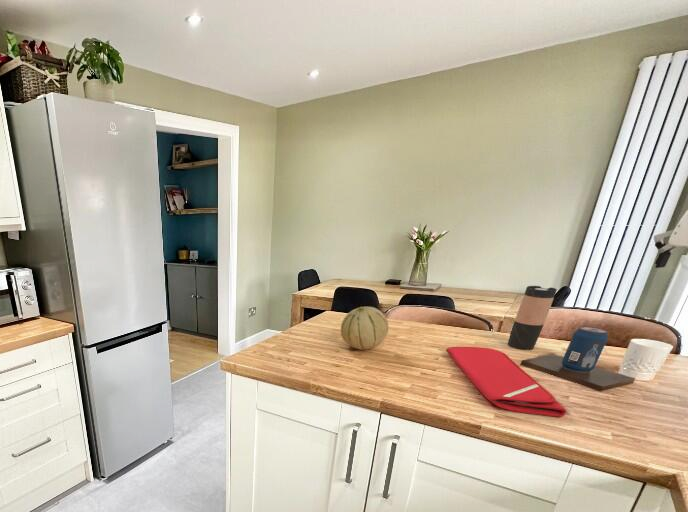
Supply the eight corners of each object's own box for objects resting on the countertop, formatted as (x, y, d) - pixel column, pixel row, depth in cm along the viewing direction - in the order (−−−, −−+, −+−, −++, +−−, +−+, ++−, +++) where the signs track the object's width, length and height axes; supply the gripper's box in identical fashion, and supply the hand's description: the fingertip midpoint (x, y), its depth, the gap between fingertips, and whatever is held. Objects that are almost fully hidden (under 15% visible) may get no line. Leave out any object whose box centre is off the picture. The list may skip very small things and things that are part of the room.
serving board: (632, 383, 109) (635, 378, 109) (600, 391, 105) (603, 386, 105) (550, 358, 126) (552, 354, 126) (519, 364, 122) (521, 360, 122)
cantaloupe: (392, 349, 137) (402, 306, 130) (367, 359, 129) (376, 314, 123) (353, 338, 148) (360, 298, 141) (329, 347, 140) (335, 305, 134)
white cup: (615, 368, 118) (630, 336, 114) (654, 376, 113) (672, 342, 109) (614, 376, 113) (630, 343, 109) (655, 384, 108) (674, 350, 104)
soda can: (569, 363, 119) (586, 324, 114) (598, 371, 113) (617, 331, 108) (554, 366, 117) (570, 327, 112) (582, 375, 111) (600, 334, 106)
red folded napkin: (500, 357, 128) (504, 346, 126) (566, 418, 93) (572, 404, 91) (444, 352, 133) (447, 342, 131) (487, 409, 98) (491, 396, 96)
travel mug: (514, 349, 134) (536, 290, 125) (501, 342, 141) (521, 285, 132) (539, 350, 133) (563, 290, 124) (525, 343, 139) (547, 285, 131)
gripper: (782, 200, 94) (740, 273, 101) (679, 200, 109) (649, 264, 116) (766, 201, 92) (724, 276, 99) (663, 201, 107) (633, 266, 114)
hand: (684, 270), depth 108 cm, fingers open, 9 cm apart
